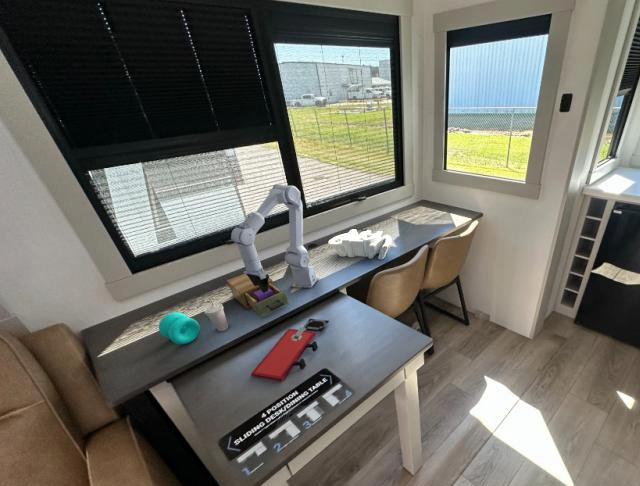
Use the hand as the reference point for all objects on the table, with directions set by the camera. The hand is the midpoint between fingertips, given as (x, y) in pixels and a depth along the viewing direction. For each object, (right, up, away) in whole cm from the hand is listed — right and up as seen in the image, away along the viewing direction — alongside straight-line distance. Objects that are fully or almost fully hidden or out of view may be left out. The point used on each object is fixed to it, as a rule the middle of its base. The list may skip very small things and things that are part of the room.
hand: (261, 288), depth 128 cm
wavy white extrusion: (+37, +20, +42) cm, 59 cm away
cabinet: (-8, -3, +12) cm, 15 cm away
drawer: (+2, -7, +3) cm, 8 cm away
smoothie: (-12, -16, -6) cm, 21 cm away
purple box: (+1, -6, +3) cm, 7 cm away
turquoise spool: (-24, -19, -10) cm, 32 cm away
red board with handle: (+21, -22, -18) cm, 35 cm away
